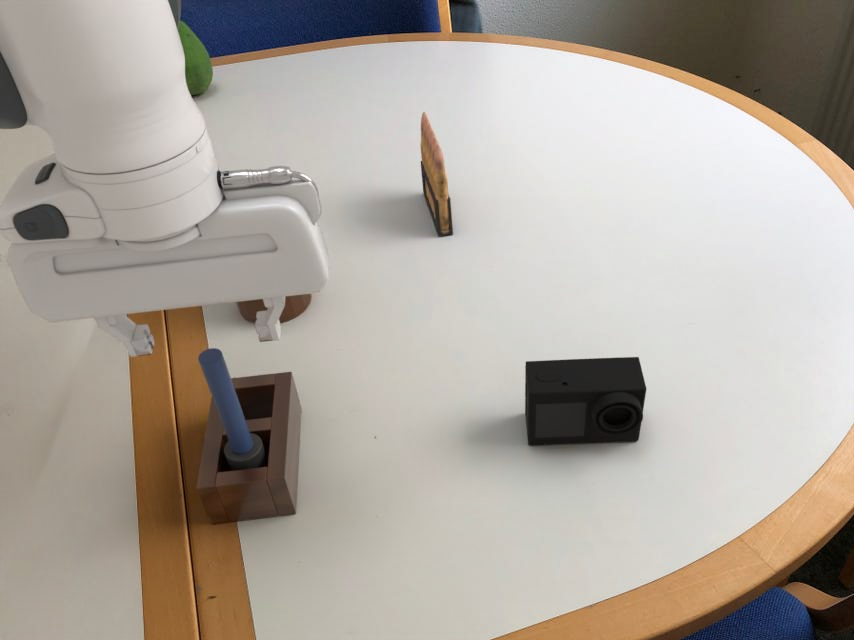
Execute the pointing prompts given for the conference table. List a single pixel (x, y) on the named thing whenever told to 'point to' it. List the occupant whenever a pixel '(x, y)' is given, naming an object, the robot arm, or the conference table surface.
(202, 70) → the fruit
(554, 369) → the digital camera
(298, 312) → the cup
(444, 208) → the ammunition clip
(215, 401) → the brush
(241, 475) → the rack
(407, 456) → the conference table surface
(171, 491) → the conference table surface
